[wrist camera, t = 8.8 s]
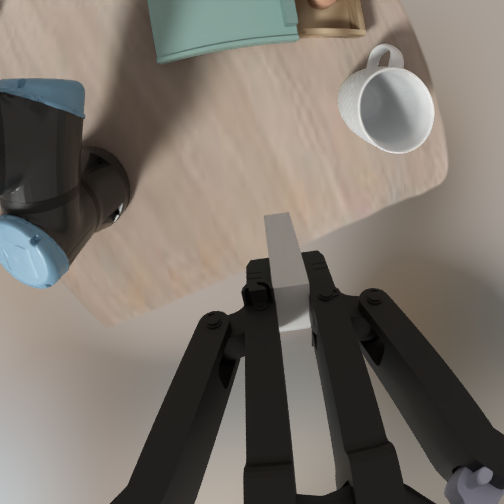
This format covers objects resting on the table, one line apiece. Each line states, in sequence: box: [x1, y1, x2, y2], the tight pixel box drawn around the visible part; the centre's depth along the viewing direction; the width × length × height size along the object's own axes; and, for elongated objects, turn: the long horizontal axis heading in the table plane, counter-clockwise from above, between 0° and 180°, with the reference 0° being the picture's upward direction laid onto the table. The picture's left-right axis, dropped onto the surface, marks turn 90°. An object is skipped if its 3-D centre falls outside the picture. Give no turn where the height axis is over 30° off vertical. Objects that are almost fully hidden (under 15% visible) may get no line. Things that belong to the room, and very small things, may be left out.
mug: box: [338, 44, 434, 154], centre depth 32 cm, size 15×11×13 cm
